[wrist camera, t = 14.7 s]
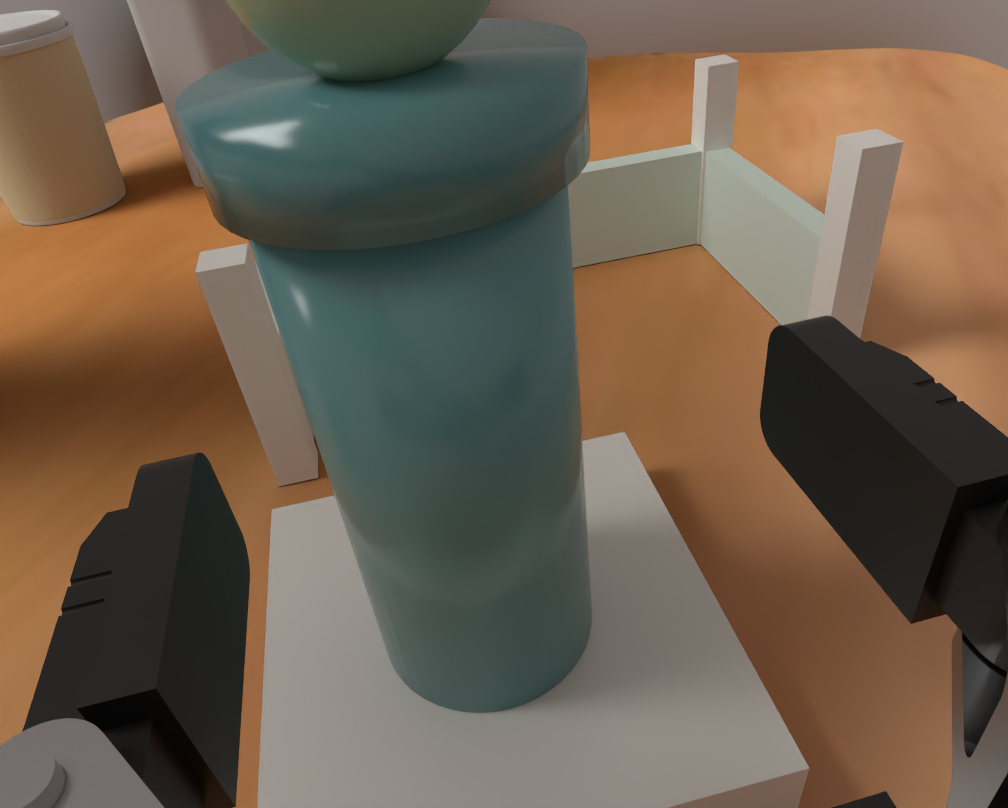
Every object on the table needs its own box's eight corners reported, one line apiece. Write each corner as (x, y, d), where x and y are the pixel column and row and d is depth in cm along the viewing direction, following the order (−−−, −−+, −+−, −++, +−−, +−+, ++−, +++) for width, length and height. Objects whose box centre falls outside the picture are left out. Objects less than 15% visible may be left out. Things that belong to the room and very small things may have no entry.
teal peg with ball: (324, 620, 21) (-22, -243, 10) (496, 496, 24) (379, -263, 13) (474, 784, 17) (169, -363, 6) (657, 611, 20) (685, -351, 9)
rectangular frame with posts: (855, 361, 31) (903, 141, 25) (278, 486, 28) (195, 272, 23) (712, 228, 42) (724, 54, 36) (285, 310, 39) (229, 137, 34)
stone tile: (797, 810, 18) (809, 768, 16) (279, 957, 16) (251, 923, 15) (624, 474, 27) (624, 431, 26) (288, 550, 26) (271, 509, 25)
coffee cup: (133, 169, 60) (65, 2, 53) (143, 207, 53) (66, 21, 46) (6, 200, 58) (-84, 28, 50) (-1, 244, 51) (-107, 52, 43)
